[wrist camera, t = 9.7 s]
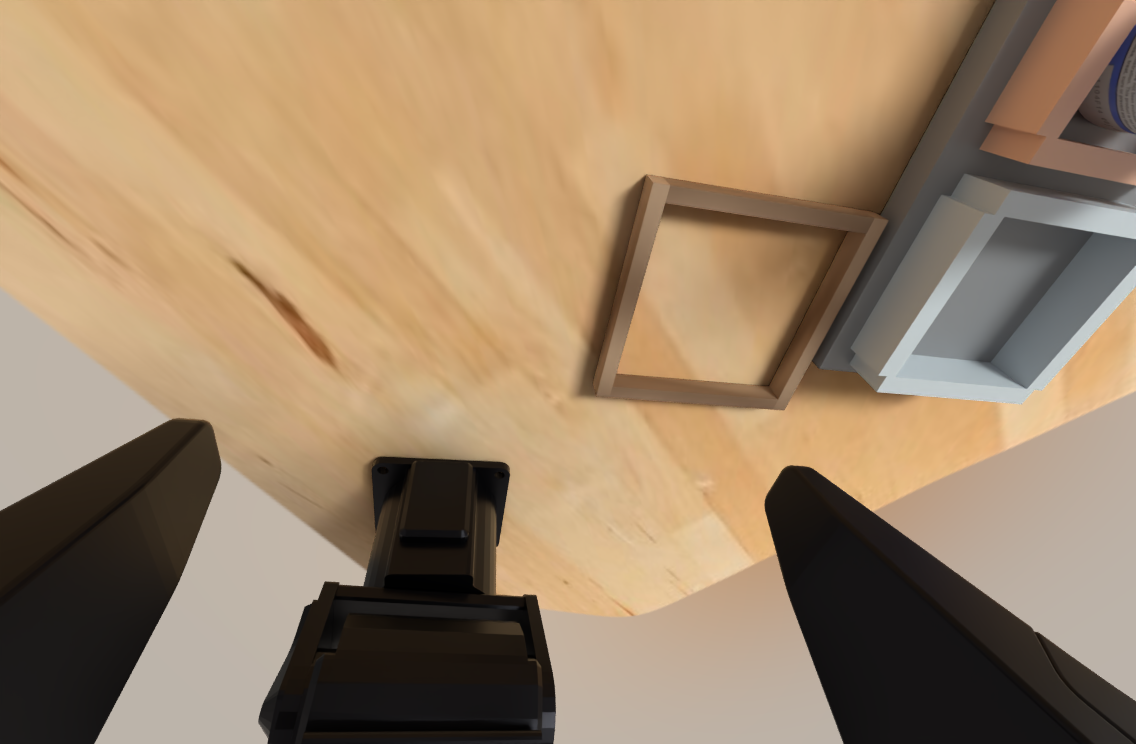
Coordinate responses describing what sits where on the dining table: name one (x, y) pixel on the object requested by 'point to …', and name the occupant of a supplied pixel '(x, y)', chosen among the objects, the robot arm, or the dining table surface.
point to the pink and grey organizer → (1001, 219)
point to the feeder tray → (807, 338)
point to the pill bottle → (1115, 91)
